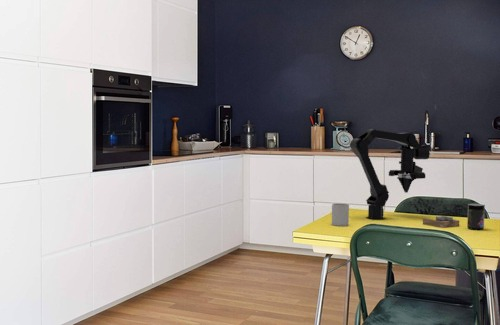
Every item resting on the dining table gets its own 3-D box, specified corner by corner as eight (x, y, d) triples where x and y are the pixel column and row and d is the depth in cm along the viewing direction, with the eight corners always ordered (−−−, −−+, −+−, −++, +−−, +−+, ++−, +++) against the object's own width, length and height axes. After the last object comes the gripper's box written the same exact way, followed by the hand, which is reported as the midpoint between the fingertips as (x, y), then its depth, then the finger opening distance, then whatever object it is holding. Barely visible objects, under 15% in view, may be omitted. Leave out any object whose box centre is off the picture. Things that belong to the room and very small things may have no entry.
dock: (442, 227, 268) (442, 220, 268) (422, 224, 278) (423, 217, 278) (459, 226, 273) (459, 219, 273) (439, 222, 283) (439, 215, 283)
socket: (444, 227, 270) (444, 217, 270) (435, 225, 275) (435, 216, 275) (452, 226, 273) (452, 216, 273) (443, 225, 277) (443, 215, 277)
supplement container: (476, 230, 261) (477, 206, 261) (463, 228, 267) (464, 204, 266) (487, 229, 265) (488, 205, 264) (474, 227, 270) (475, 203, 270)
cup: (333, 226, 268) (334, 205, 267) (328, 222, 278) (329, 202, 277) (350, 226, 268) (350, 205, 268) (344, 222, 278) (345, 202, 278)
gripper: (434, 160, 291) (433, 193, 292) (405, 158, 307) (404, 190, 308) (417, 160, 286) (416, 194, 287) (388, 158, 302) (387, 190, 303)
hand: (406, 192), depth 296 cm, fingers closed
